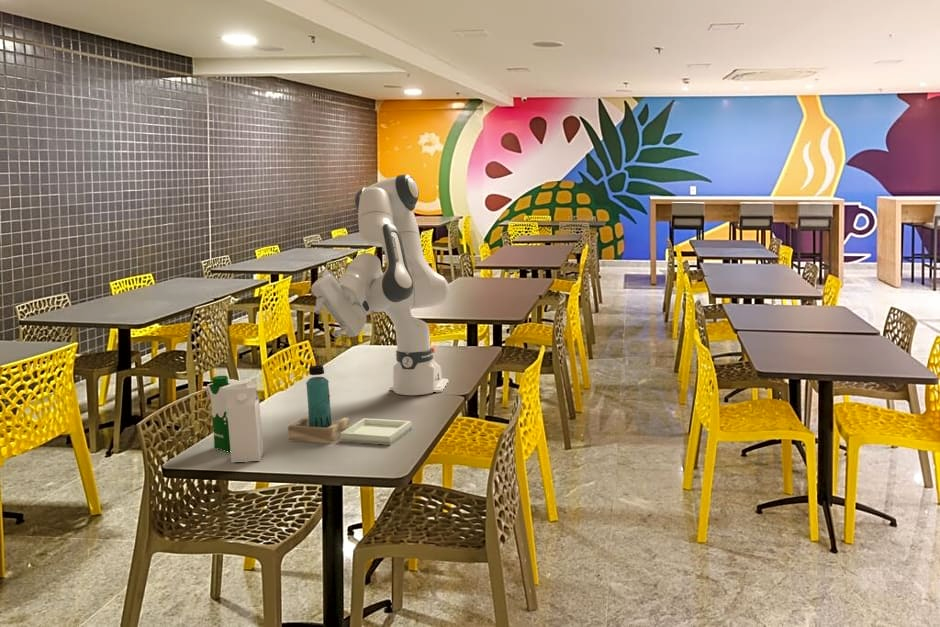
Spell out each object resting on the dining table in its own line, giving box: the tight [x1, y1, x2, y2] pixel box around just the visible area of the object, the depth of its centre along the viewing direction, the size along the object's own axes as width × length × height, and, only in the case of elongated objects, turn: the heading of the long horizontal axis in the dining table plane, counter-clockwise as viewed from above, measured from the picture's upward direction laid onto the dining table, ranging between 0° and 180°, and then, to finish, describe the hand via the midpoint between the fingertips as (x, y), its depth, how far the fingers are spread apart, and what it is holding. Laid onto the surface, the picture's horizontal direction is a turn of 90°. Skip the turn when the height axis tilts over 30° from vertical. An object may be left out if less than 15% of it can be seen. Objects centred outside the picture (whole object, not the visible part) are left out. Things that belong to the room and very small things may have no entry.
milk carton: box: [227, 386, 264, 463], centre depth 228 cm, size 7×7×19 cm
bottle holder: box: [287, 415, 350, 444], centre depth 246 cm, size 12×13×4 cm
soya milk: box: [206, 375, 248, 453], centre depth 238 cm, size 9×9×20 cm
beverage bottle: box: [305, 364, 333, 428], centre depth 246 cm, size 6×7×20 cm
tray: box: [339, 417, 413, 446], centre depth 245 cm, size 15×15×2 cm
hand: (326, 324), depth 252 cm, fingers open, 8 cm apart
